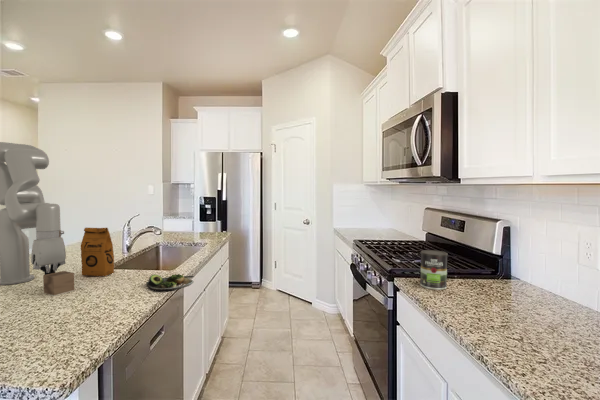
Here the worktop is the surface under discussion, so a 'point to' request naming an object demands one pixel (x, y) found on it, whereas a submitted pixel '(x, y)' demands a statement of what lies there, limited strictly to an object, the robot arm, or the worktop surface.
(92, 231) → the coffee package
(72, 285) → the letter block
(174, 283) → the salad plate
